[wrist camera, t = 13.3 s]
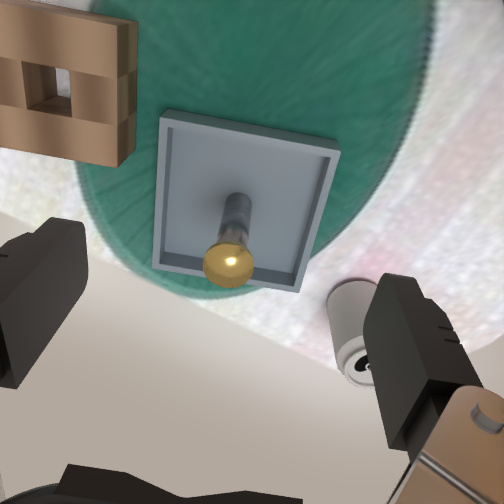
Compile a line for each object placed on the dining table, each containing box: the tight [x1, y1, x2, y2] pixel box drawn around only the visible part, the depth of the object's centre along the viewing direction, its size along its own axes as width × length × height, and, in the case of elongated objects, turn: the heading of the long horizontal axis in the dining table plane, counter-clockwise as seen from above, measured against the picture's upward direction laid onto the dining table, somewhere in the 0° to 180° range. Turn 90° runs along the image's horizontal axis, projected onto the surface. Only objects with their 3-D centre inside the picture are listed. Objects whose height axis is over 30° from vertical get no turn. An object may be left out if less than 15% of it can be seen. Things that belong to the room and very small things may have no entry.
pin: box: [203, 192, 254, 288], centre depth 40 cm, size 4×4×13 cm
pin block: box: [0, 0, 138, 168], centre depth 38 cm, size 12×12×6 cm
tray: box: [152, 109, 341, 293], centre depth 45 cm, size 18×18×4 cm
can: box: [327, 281, 377, 389], centre depth 48 cm, size 8×8×12 cm
